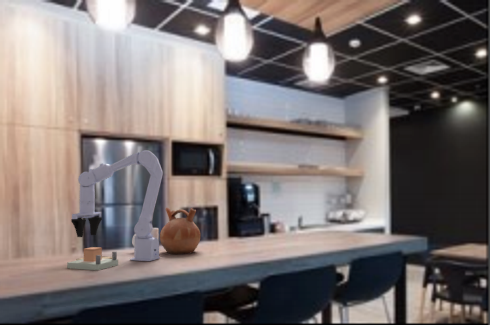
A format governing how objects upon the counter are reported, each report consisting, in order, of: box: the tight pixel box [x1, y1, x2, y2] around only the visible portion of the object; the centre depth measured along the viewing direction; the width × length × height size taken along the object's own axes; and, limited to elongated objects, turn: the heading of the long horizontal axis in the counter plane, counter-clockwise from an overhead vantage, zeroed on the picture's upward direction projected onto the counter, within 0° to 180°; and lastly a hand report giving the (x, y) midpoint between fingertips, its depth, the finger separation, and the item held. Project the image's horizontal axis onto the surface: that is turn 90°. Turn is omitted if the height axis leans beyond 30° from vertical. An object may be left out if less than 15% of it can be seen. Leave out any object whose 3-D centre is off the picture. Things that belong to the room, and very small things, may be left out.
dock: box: [66, 251, 119, 271], centre depth 155 cm, size 14×11×5 cm
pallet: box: [75, 255, 112, 261], centre depth 167 cm, size 12×9×1 cm
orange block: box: [83, 246, 103, 262], centre depth 155 cm, size 5×5×4 cm
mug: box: [131, 227, 159, 247], centre depth 192 cm, size 12×8×10 cm
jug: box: [159, 207, 201, 255], centre depth 188 cm, size 18×18×20 cm
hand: (86, 236), depth 168 cm, fingers open, 7 cm apart
